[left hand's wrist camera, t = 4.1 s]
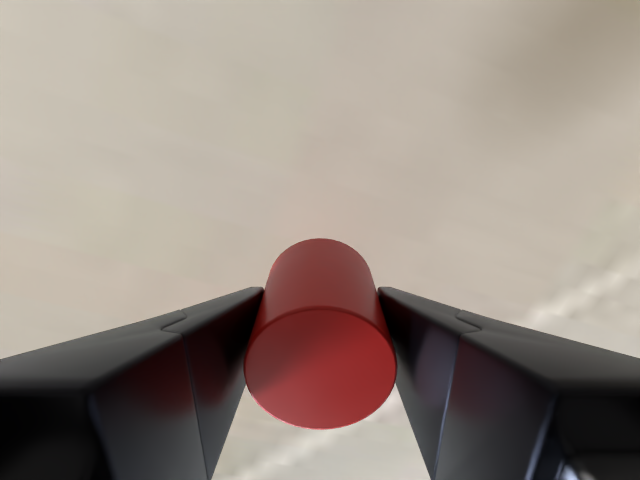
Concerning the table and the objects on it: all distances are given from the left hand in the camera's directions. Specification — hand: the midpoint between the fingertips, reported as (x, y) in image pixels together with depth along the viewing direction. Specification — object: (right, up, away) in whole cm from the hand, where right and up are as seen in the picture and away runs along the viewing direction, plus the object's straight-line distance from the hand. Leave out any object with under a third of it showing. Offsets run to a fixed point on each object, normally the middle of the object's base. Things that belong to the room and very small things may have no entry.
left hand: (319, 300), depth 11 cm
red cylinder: (0, 0, +1) cm, 1 cm away
